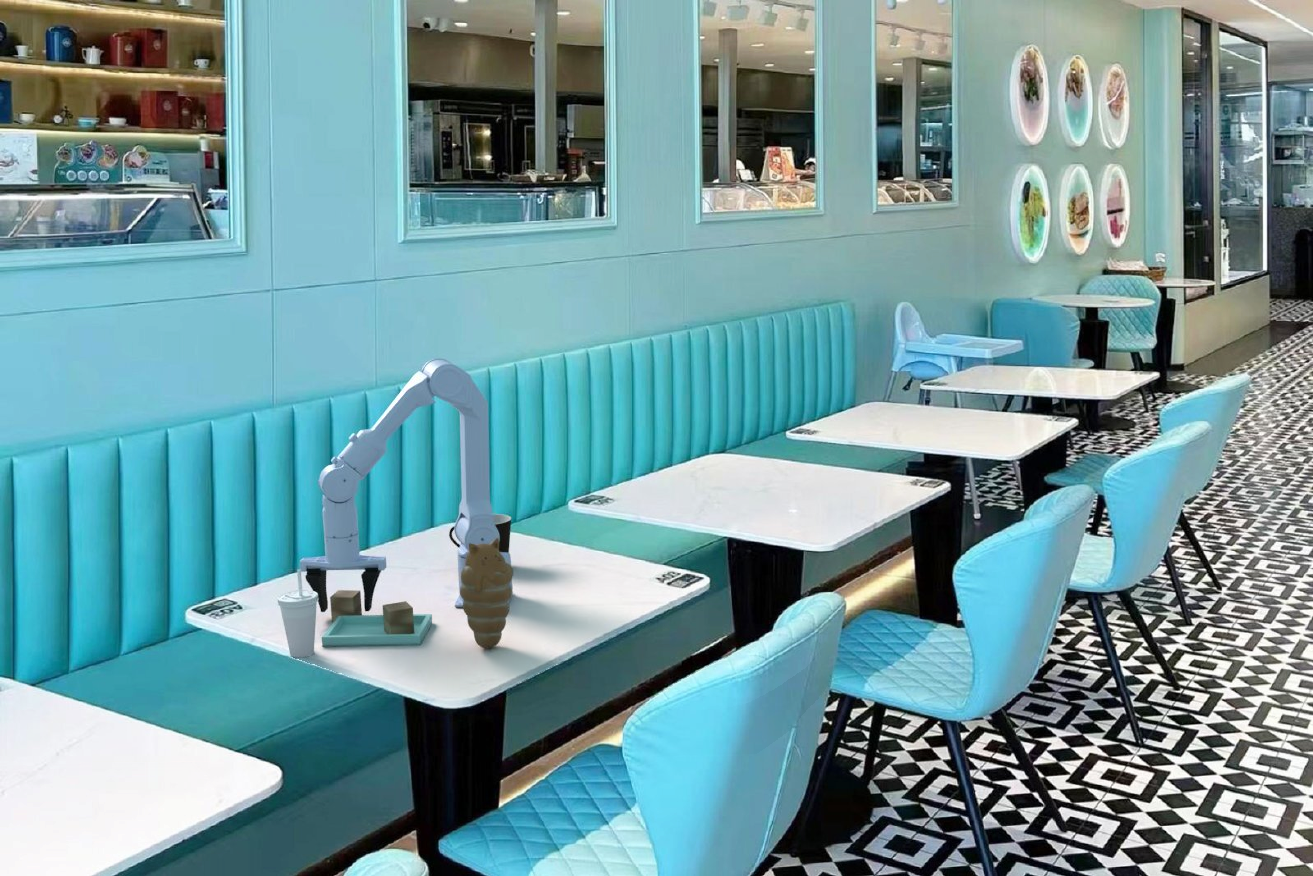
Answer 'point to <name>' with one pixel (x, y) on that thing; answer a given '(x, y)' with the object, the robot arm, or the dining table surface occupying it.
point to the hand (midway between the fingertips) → (346, 610)
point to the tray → (372, 631)
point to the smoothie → (299, 619)
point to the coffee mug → (503, 528)
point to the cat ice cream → (486, 592)
